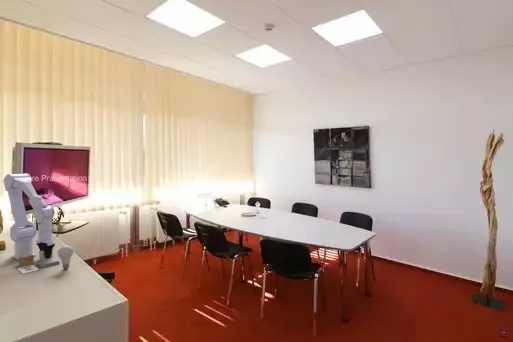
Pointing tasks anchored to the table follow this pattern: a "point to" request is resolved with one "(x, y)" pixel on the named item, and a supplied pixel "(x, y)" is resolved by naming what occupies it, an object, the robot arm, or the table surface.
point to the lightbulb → (65, 255)
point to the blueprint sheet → (27, 269)
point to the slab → (48, 262)
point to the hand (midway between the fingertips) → (46, 256)
